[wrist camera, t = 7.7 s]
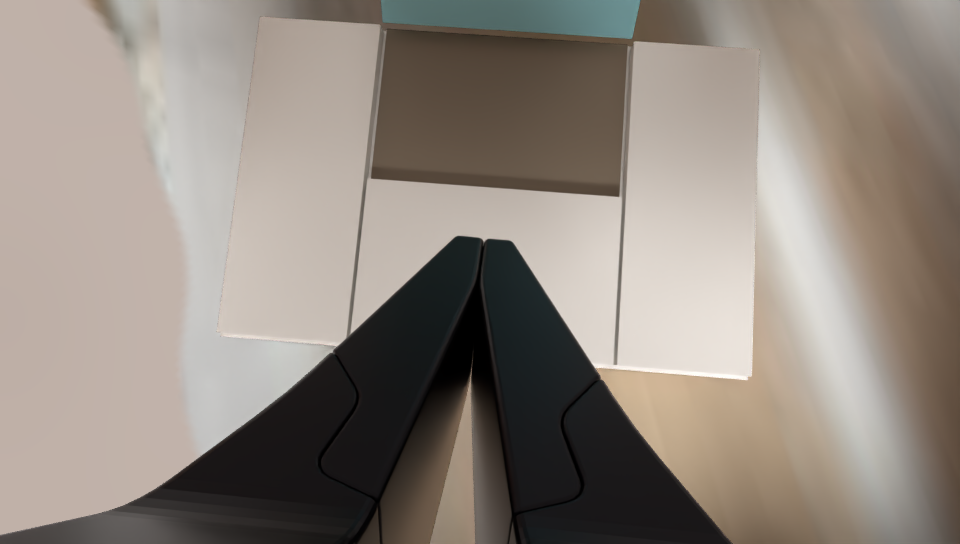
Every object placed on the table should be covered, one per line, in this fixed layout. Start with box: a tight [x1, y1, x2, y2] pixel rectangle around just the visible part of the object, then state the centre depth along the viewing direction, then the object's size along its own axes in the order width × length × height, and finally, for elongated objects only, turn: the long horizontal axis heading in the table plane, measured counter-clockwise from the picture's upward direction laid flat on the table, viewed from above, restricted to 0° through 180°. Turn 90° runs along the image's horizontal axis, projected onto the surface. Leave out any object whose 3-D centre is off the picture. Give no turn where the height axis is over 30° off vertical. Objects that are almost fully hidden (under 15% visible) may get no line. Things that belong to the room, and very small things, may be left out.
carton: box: [217, 17, 760, 380], centre depth 19 cm, size 9×14×4 cm, turn 85°
